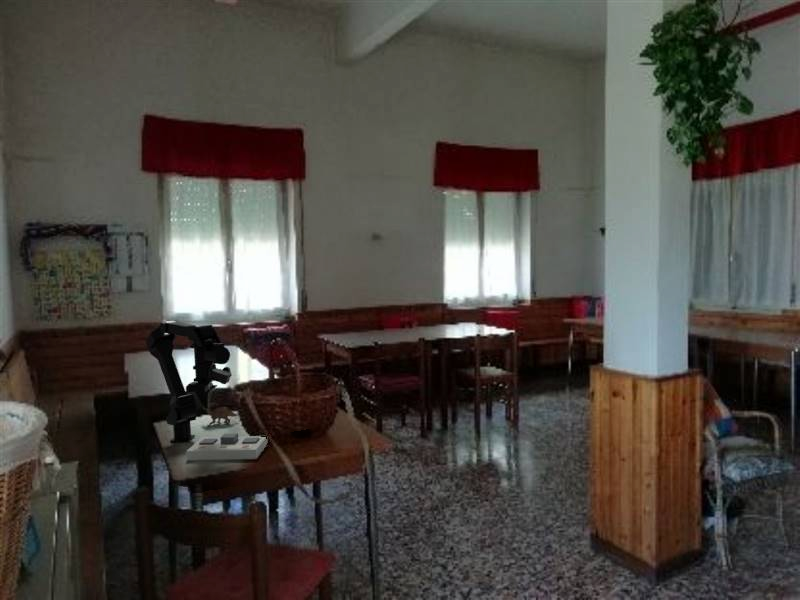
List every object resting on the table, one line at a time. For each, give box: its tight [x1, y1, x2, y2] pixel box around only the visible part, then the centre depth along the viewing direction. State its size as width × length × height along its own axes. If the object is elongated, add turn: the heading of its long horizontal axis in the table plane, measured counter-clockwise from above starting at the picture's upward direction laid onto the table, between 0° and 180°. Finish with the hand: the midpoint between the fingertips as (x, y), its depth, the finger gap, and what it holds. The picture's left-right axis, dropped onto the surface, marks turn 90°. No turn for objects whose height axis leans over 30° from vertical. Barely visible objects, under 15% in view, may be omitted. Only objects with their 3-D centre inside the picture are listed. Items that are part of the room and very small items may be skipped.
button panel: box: [186, 435, 268, 461], centre depth 197 cm, size 14×22×3 cm, turn 88°
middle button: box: [220, 432, 239, 444], centre depth 198 cm, size 4×4×2 cm
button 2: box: [242, 437, 259, 444], centre depth 198 cm, size 4×4×2 cm
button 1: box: [199, 438, 217, 445], centre depth 198 cm, size 4×4×2 cm
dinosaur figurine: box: [202, 402, 239, 427], centre depth 231 cm, size 14×6×9 cm, turn 94°
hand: (206, 408), depth 203 cm, fingers closed
